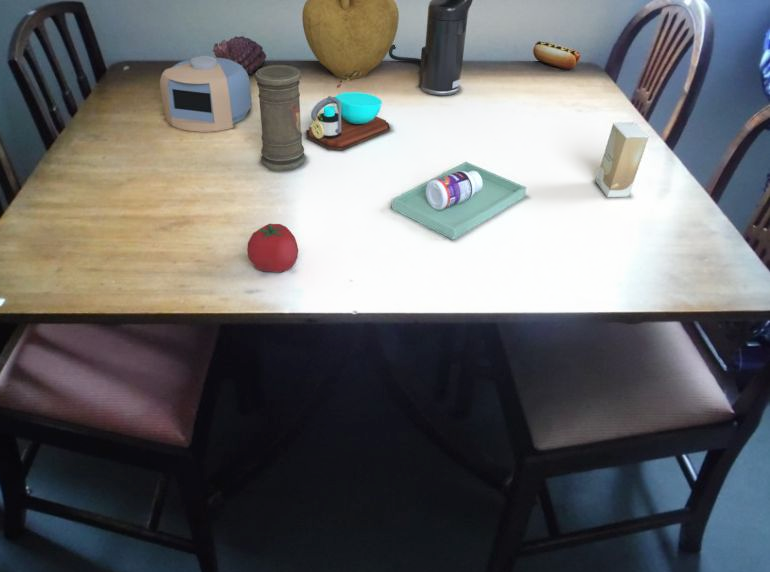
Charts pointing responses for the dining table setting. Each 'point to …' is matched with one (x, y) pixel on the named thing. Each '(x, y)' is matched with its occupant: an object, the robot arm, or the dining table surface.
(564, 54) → the hot dog
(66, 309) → the dining table surface
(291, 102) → the container
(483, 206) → the tray
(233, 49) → the pine cone
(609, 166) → the cosmetic box
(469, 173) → the pill bottle
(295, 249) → the tomato
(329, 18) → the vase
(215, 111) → the alarm clock
